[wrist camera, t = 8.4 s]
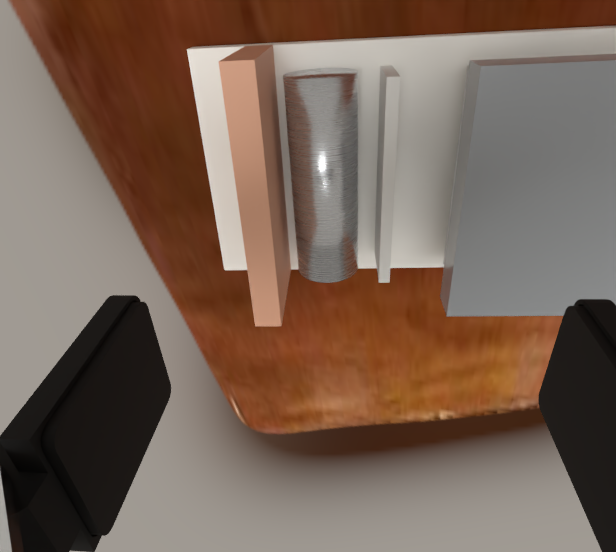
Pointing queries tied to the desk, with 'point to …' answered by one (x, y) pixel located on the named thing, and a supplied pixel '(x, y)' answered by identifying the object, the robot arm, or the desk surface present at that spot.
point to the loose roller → (324, 170)
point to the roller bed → (371, 142)
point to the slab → (534, 188)
